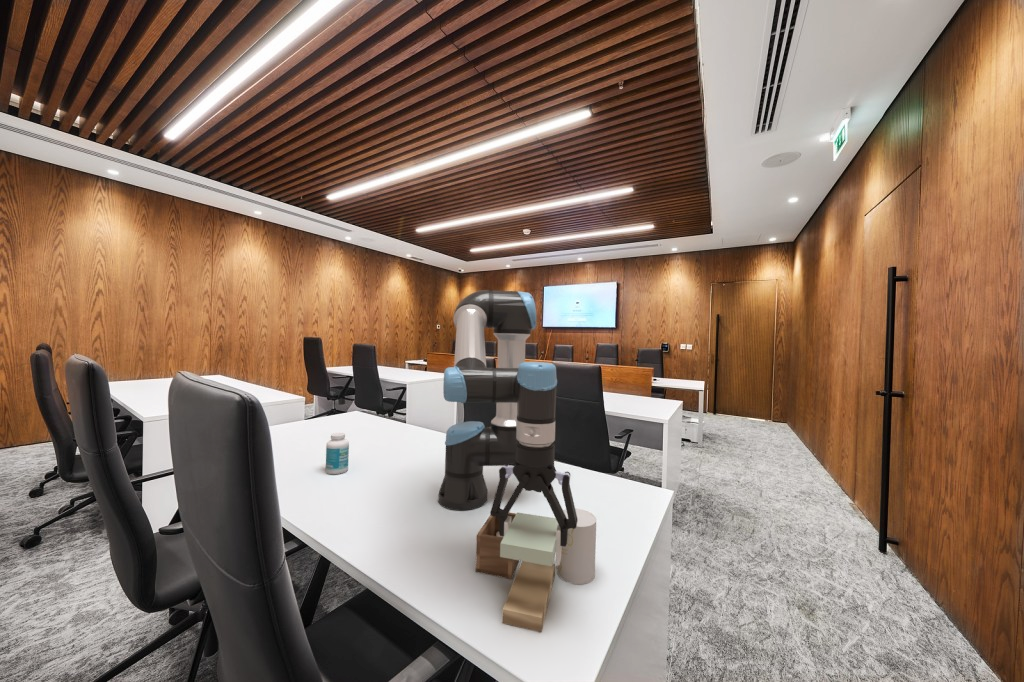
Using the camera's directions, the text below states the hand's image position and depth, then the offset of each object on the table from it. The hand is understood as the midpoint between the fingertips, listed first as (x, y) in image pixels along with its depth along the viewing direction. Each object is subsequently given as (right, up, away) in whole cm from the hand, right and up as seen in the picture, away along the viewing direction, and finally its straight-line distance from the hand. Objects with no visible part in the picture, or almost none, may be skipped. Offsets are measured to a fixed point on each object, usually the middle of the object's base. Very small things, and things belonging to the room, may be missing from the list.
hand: (532, 556), depth 73 cm
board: (0, -8, 0) cm, 8 cm away
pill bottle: (-67, -6, +63) cm, 92 cm away
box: (-6, -8, +12) cm, 16 cm away
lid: (0, +2, 0) cm, 2 cm away
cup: (+10, -8, +8) cm, 15 cm away
